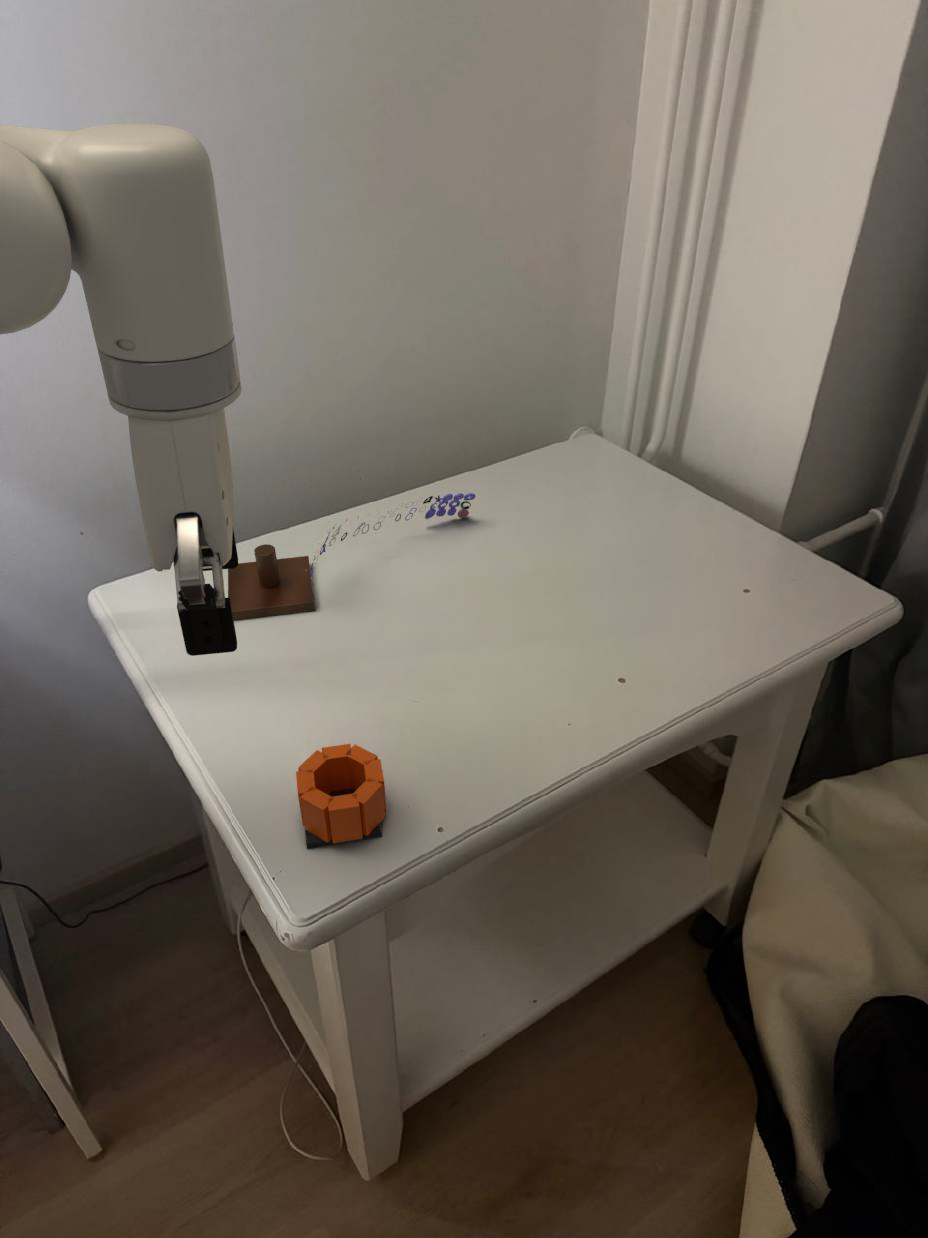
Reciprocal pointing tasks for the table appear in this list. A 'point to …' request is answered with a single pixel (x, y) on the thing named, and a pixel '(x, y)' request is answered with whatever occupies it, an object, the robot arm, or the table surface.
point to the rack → (270, 585)
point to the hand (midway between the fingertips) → (214, 606)
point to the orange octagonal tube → (344, 812)
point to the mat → (315, 841)
